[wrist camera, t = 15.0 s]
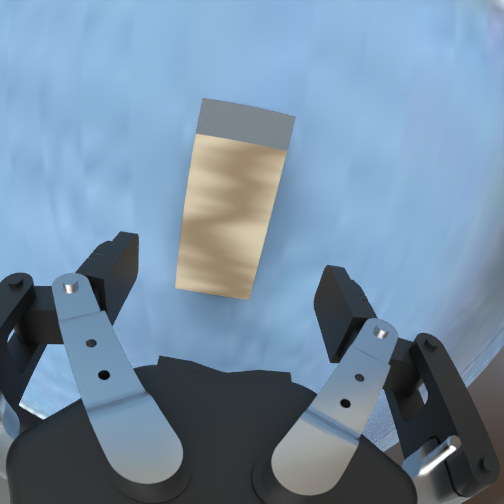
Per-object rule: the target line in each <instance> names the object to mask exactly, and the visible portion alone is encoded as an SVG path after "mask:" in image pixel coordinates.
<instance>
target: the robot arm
mask: <svg viewBox="0 0 504 504" xmlns="http://www.w3.org/2000/svg"><path fill="white" fill-rule="evenodd" d="M138 253H139V237H138V234H135V233H128V232H122V231H121V232H119V234H118V235H117V236H116V237H115V238H114V240H113V241H106V242H104V243H102V244H100V245H98V247H97V248H96V249H95V250H94V251H93V253H92V254H91V255H90V256H89V258H87V259H86V261H85V262H84V263H83V264H82V265H81V266H80V268H79V269H78V270H77V271H76V273H68V274H64V275H61V276H59V277H58V278H56V279H55V280H54V282H53V283H52V286H34V283H33V279H32V277H31V276H30V275H29V274H26V273H14V274H11V275H9V276H7V277H6V278H4V279H3V280H2V281H1V283H0V477H2V478H4V479H6V480H8V485H9V492H10V502H11V504H460V503H462V502H464V501H465V500H467V499H469V498H471V497H472V496H474V495H476V494H477V493H479V492H480V491H482V490H483V489H485V488H486V487H488V486H489V485H491V484H492V483H494V482H495V481H496V480H497V478H498V476H499V473H500V465H499V461H498V458H497V456H496V453H495V451H494V448H493V445H492V443H491V440H490V438H489V436H488V433H487V431H486V429H485V426H484V424H483V422H482V420H481V418H480V416H479V413H478V411H477V409H476V407H475V405H474V403H473V400H472V398H471V396H470V394H469V392H468V390H467V388H466V386H465V384H464V382H463V381H462V379H461V377H460V375H459V373H458V371H457V369H456V367H455V365H454V364H453V362H452V360H451V358H450V356H449V355H448V353H447V351H446V349H445V348H444V346H443V344H442V343H441V342H440V341H439V340H438V339H437V338H436V337H434V336H432V335H430V334H427V333H420V334H418V335H417V337H416V338H415V340H414V341H413V342H411V341H408V340H405V339H401V338H398V333H397V331H396V329H395V328H394V327H393V326H392V325H391V324H390V323H388V322H386V321H384V320H382V319H378V318H377V316H376V314H375V312H374V310H373V308H372V307H371V305H370V303H369V302H368V299H367V297H366V296H365V294H364V292H363V290H362V288H361V287H360V286H359V285H358V284H357V283H356V282H355V281H354V280H351V279H350V277H349V275H348V274H347V272H346V270H345V268H343V267H338V266H331V265H327V266H326V267H325V269H324V272H323V274H322V277H321V280H320V283H319V286H318V288H317V291H316V294H315V298H314V310H315V313H316V316H317V319H318V323H319V326H320V329H321V333H322V336H323V340H324V343H325V347H326V350H327V353H328V357H329V360H330V363H339V364H338V366H337V367H336V369H335V370H334V372H333V373H332V375H331V376H330V378H329V379H328V381H327V382H326V383H325V385H324V386H323V388H322V389H321V391H320V392H319V393H318V394H316V393H315V392H313V391H312V390H310V389H308V388H306V387H304V386H302V385H299V384H296V383H293V382H292V381H291V374H290V372H277V371H265V370H254V371H243V372H231V373H225V372H221V371H218V370H215V369H212V368H209V367H206V366H203V365H201V364H198V363H195V362H192V361H187V360H181V359H175V358H170V357H164V356H159V360H158V364H157V365H148V366H142V367H137V368H134V369H133V368H132V366H131V364H130V362H129V360H128V358H127V356H126V354H125V352H124V350H123V348H122V346H121V344H120V342H119V340H118V338H117V336H116V334H115V332H114V330H113V327H112V326H113V324H114V322H115V320H116V318H117V316H118V314H119V312H120V310H121V308H122V306H123V304H124V302H125V300H126V298H127V296H128V294H129V292H130V290H131V289H132V287H133V285H134V283H135V281H136V278H137V274H138ZM13 328H14V331H15V332H14V334H13V335H12V337H11V338H10V340H9V342H8V343H7V341H8V337H9V334H10V333H11V331H12V330H13ZM47 344H64V345H65V349H66V352H67V356H68V359H69V363H70V366H71V369H72V372H73V375H74V378H75V381H76V384H77V387H78V390H79V393H80V396H81V398H80V399H79V400H77V401H75V402H74V403H72V404H70V405H68V406H67V407H65V408H63V409H62V410H60V411H58V412H56V413H55V414H53V415H51V416H49V417H48V418H46V419H44V420H43V421H41V422H39V423H37V424H35V425H34V426H32V427H30V428H28V429H27V430H25V431H23V432H22V433H20V434H19V435H18V432H19V420H18V417H17V415H16V413H15V412H16V410H17V407H18V405H19V403H20V400H21V398H22V396H23V393H24V391H25V389H26V387H27V385H28V382H29V380H30V378H31V376H32V374H33V372H34V370H35V368H36V366H37V364H38V362H39V360H40V358H41V356H42V354H43V352H44V350H45V348H46V346H47ZM423 382H424V384H425V386H426V389H427V391H428V399H427V402H426V404H425V405H424V402H423V400H422V397H421V395H420V392H419V390H418V388H419V387H420V386H421V385H422V383H423ZM382 389H384V391H385V394H386V397H387V400H388V403H389V407H390V410H391V413H392V416H393V420H394V423H395V427H396V430H397V434H398V437H399V441H400V444H401V448H402V452H403V455H404V459H405V461H404V463H403V466H402V468H401V467H400V466H399V465H398V464H397V463H395V462H394V461H393V460H392V459H391V458H389V457H388V456H387V455H386V454H385V453H383V452H382V451H381V450H380V449H379V448H377V447H376V446H375V445H374V444H373V443H372V442H370V441H369V440H368V439H367V438H366V437H365V436H364V435H362V434H361V433H362V431H363V429H364V427H365V425H366V423H367V421H368V419H369V417H370V415H371V412H372V410H373V408H374V406H375V404H376V401H377V399H378V397H379V394H380V392H381V390H382Z"/></svg>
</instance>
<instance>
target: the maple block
mask: <svg viewBox="0 0 504 504" xmlns="http://www.w3.org/2000/svg"><path fill="white" fill-rule="evenodd" d="M294 121H295V116H291V115H287V114H283V113H279V112H275V111H270V110H266V109H261V108H256V107H251V106H246V105H241V104H236V103H230V102H225V101H219V100H212V99H206V98H203V100H202V105H201V110H200V115H199V120H198V125H197V130H196V136H195V141H194V147H193V153H192V159H191V165H190V171H189V178H188V184H187V191H186V198H185V205H184V213H183V220H182V228H181V236H180V245H179V254H178V264H177V274H176V284H175V288H177V289H183V290H188V291H194V292H200V293H207V294H213V295H219V296H226V297H232V298H239V299H246V300H249V298H250V294H251V291H252V287H253V283H254V279H255V275H256V271H257V267H258V264H259V260H260V256H261V252H262V248H263V244H264V240H265V236H266V233H267V229H268V225H269V221H270V217H271V213H272V209H273V205H274V201H275V197H276V193H277V189H278V185H279V181H280V177H281V173H282V169H283V165H284V161H285V157H286V153H287V149H288V145H289V141H290V137H291V133H292V129H293V125H294Z"/></svg>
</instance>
